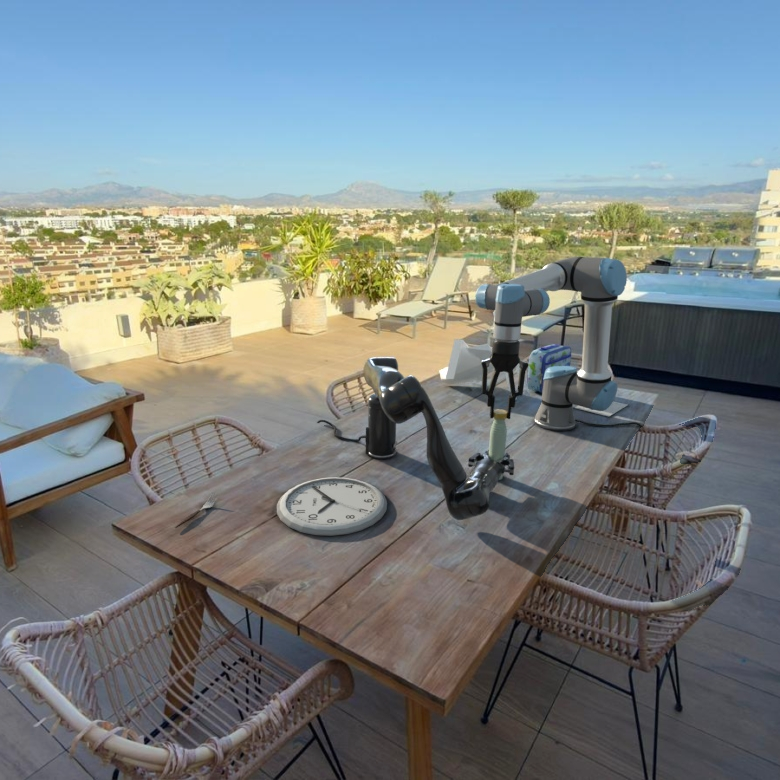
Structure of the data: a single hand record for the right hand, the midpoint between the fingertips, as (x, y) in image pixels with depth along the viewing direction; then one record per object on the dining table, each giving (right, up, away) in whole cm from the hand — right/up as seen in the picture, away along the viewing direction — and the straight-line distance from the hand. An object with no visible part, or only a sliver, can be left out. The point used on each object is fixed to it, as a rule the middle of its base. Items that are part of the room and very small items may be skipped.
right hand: (499, 416), depth 155 cm
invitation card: (+59, +1, +71) cm, 92 cm away
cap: (0, +1, 0) cm, 1 cm away
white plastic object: (+9, +7, +88) cm, 89 cm away
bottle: (0, -19, +6) cm, 20 cm away
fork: (-83, -25, -18) cm, 89 cm away
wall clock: (-48, -24, -12) cm, 55 cm away
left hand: (+1, -12, +6) cm, 13 cm away
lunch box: (+43, +8, +95) cm, 105 cm away
